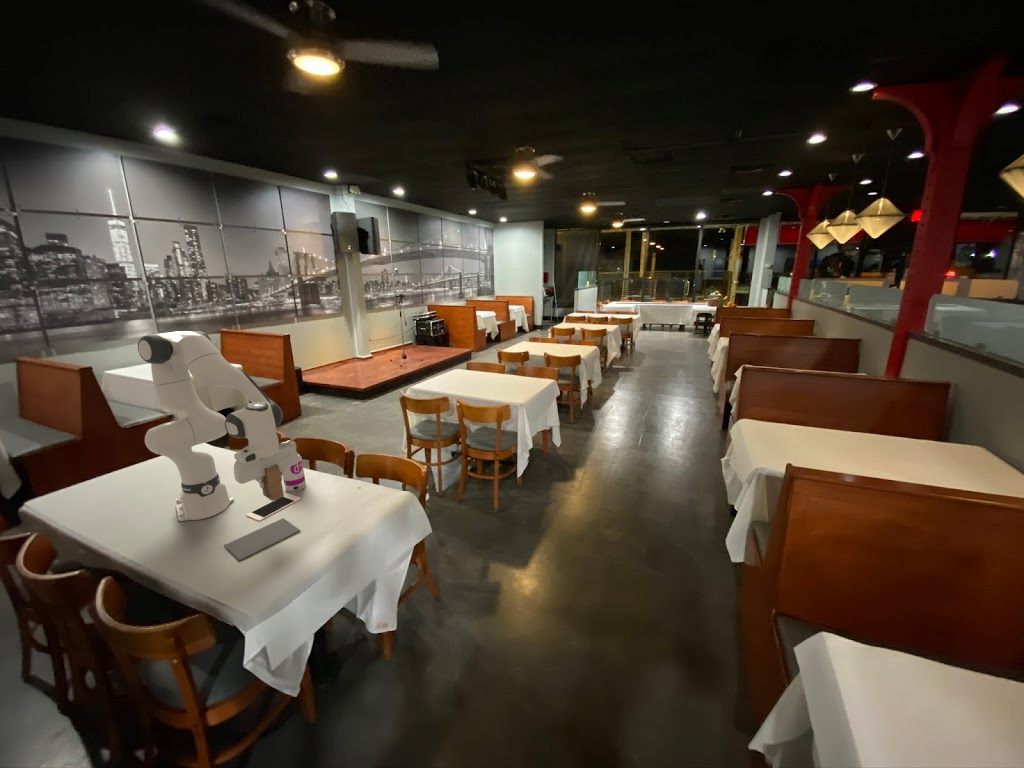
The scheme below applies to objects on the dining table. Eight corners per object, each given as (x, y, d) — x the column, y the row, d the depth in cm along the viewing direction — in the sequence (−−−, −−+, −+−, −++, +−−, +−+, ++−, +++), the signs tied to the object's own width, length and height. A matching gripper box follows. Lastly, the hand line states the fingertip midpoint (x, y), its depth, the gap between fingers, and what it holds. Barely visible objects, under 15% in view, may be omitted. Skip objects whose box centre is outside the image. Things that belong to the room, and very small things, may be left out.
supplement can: (309, 485, 184) (305, 454, 180) (292, 494, 177) (286, 462, 173) (299, 481, 188) (294, 451, 184) (281, 489, 181) (275, 457, 177)
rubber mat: (224, 546, 143) (224, 545, 143) (283, 519, 158) (283, 518, 158) (239, 561, 136) (239, 559, 135) (300, 531, 151) (300, 530, 151)
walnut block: (263, 495, 149) (257, 464, 146) (275, 490, 152) (269, 460, 149) (272, 501, 145) (266, 469, 141) (284, 496, 148) (278, 465, 145)
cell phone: (301, 499, 173) (301, 497, 173) (259, 522, 157) (259, 520, 157) (288, 495, 177) (287, 493, 177) (245, 516, 161) (245, 514, 161)
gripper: (290, 436, 153) (296, 470, 157) (228, 456, 138) (236, 493, 141) (299, 440, 150) (304, 475, 153) (236, 461, 134) (244, 499, 137)
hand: (271, 484), depth 147 cm, fingers closed on walnut block, 4 cm apart
